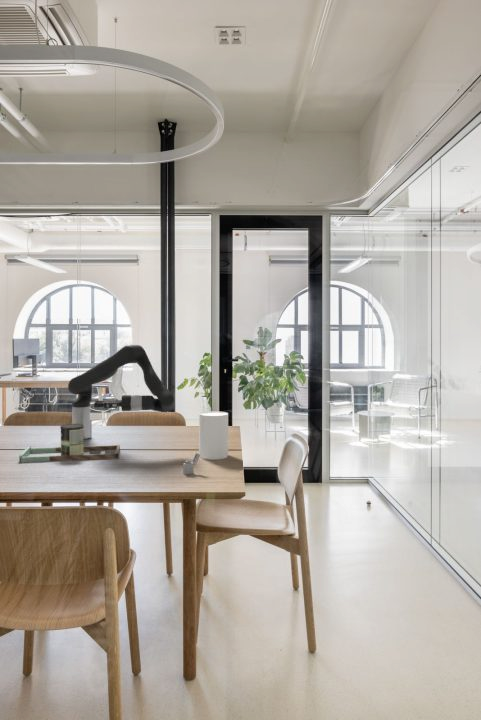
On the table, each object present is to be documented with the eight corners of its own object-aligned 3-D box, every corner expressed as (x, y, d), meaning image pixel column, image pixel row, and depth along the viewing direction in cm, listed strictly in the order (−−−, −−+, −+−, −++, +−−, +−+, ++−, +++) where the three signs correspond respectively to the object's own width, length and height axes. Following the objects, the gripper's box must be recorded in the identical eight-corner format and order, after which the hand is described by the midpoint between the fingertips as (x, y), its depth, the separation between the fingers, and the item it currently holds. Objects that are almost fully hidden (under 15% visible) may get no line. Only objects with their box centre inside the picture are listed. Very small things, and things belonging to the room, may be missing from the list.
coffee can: (58, 458, 229) (57, 427, 228) (64, 452, 239) (63, 423, 239) (81, 458, 230) (80, 427, 229) (86, 452, 240) (85, 423, 240)
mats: (115, 450, 246) (115, 449, 246) (114, 457, 232) (114, 456, 232) (90, 451, 243) (90, 450, 243) (87, 458, 229) (87, 457, 229)
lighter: (184, 474, 204) (184, 455, 204) (182, 473, 206) (182, 454, 205) (200, 472, 207) (200, 453, 207) (198, 471, 209) (198, 452, 209)
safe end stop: (56, 451, 242) (56, 445, 242) (49, 461, 224) (49, 454, 224) (28, 452, 240) (28, 446, 239) (19, 462, 222) (19, 455, 221)
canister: (233, 455, 236) (234, 413, 235) (213, 461, 226) (213, 417, 225) (213, 451, 245) (214, 410, 244) (193, 455, 235) (193, 413, 234)
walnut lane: (119, 449, 248) (119, 445, 248) (118, 458, 230) (118, 453, 230) (28, 452, 240) (28, 448, 239) (19, 462, 222) (19, 457, 221)
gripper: (132, 393, 246) (96, 394, 242) (131, 397, 232) (93, 397, 228) (132, 408, 246) (96, 409, 243) (131, 413, 232) (93, 414, 229)
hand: (95, 403), depth 236 cm, fingers open, 5 cm apart
